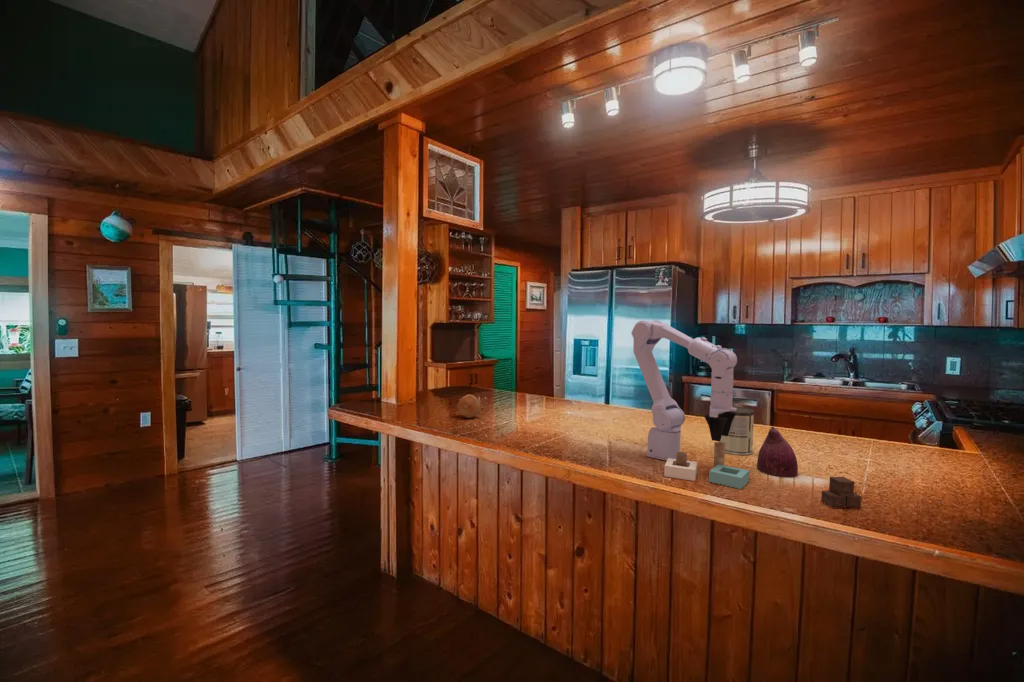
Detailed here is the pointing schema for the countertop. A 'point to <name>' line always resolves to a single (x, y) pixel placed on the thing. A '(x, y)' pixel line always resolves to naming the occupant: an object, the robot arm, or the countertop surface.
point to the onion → (469, 406)
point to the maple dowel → (719, 453)
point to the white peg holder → (680, 470)
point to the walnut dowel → (681, 459)
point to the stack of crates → (841, 493)
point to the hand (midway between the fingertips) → (720, 438)
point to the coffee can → (740, 433)
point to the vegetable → (777, 456)
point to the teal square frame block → (729, 476)
